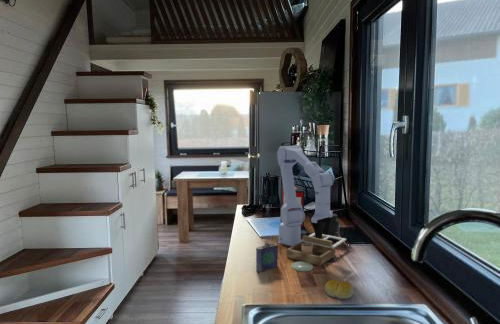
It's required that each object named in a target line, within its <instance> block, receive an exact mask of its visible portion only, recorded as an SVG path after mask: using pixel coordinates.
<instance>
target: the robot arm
mask: <svg viewBox="0 0 500 324" xmlns="http://www.w3.org/2000/svg"><path fill="white" fill-rule="evenodd" d="M303 150H304V149H303V148H302V147H301V146H300V145H288V146H287V145H286V146H283V145H281V146H279V147H278V150H277V151H276V157H277V162H278V166H279V168H280V174H281V183H282V186H283V190H284V197H285V204H284V205H283V206H282V207H281V216H280V217H281V221H282V223H281V221H280V224H279V227H278V242H277V244H282V245H286V246H290V247H292V246H294V245H296V244H298V243H300V242H301V239H302V238H301V237H302V236H301V234H302V233H301V232H302V230H301V224H302V222H303V221H304V222H305V219H306V214H305V210H304V211H303V208H302V205H301V204H299V203H298V202H297V199H296V192H295V185H296V184H295V180H294V179H295V177H294V173H293V167H294V165H296V164H297V163H298V164H299V165H301V166H302V167H303V168H304V169H303V170H304V173H305V174H306V175H307V176H308V177H309V178H310V179H311V181H312V186H313V189H314V193H315V195H314V196H315V197H314V198H315V201H314V202H315V203H314V206H315V207H314V214H313V216H312V217H311V220H310V224H311V226H312V228H313V231H314V232H313V233H315V236H314V237H315V238H318V239H323V238H322V237H323V236H322V234H324V235H328V233H329V229H330V226H331V223H332V221H333V220H334V217H333V214H334V213H333V212H334V211H333V210H331V187H332V186H333V185H334V181H335V179H334V176H333V174H332V172H331V171H326V170H325V169H323V167H321V166H320V165H318V163H317V162H316V161H310V159H309V158H308V157H307V156H306V154H305V153H304V151H303ZM292 208H294V209H293V210H289V209H292Z"/></svg>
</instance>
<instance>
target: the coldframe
mask: <svg viewBox="0 0 500 324" xmlns="http://www.w3.org/2000/svg"><path fill="white" fill-rule="evenodd" d="M302 243H306V242H302V241H301V242H300V243H298V244H296V245H294V246H290V247H289V248H287V249H286V258H289V259H292V260H298V261H300V262H308V263H311V264H312V265H315V266H316V265H317V266H319V267H321V266H323V264H326V263H327V262H328V261H330V260H331V259H332V258H334V257H335V256H336V247H335V248H334V249H332V248H328V247H324V246H319V245H315V244H313V255H312V254H308V253H304V252H301V251H302Z"/></svg>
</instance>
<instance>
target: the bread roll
mask: <svg viewBox="0 0 500 324" xmlns="http://www.w3.org/2000/svg"><path fill="white" fill-rule="evenodd" d="M324 290H325V293H326V294H327V296H329V297H331V298H332V297H333V298H337V299H340V300H347V299H350V298H352V297H353V295H354V294H355V293H354V292H355V288H354V287H353V285H352V284H351V283H349V282H348V281H345V280H344V281H340V280H338V279H331V280H328V281H327V282H326V283H325V284H324Z"/></svg>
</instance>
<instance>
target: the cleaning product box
mask: <svg viewBox="0 0 500 324" xmlns="http://www.w3.org/2000/svg"><path fill="white" fill-rule="evenodd" d="M294 185H295V192H296V199H297V202H298V203H299V204H301V205H302V208H303V211H304V212H305V190H304V189H302V188H301V187H300V186H298V185H297V184H294ZM279 193H280V198H279V199H280V204H279V205H280V206H279V207H280V216H281V207H282V206H283V205H284V204H285V197H284V190H283V185H280V192H279ZM293 209H294V208H292V209H289V210H293ZM279 221H280V223H281V222H282V221H281V217H280V219H279ZM303 230H305V220H304V221H303V222H302V224H301V231H303Z"/></svg>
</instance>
